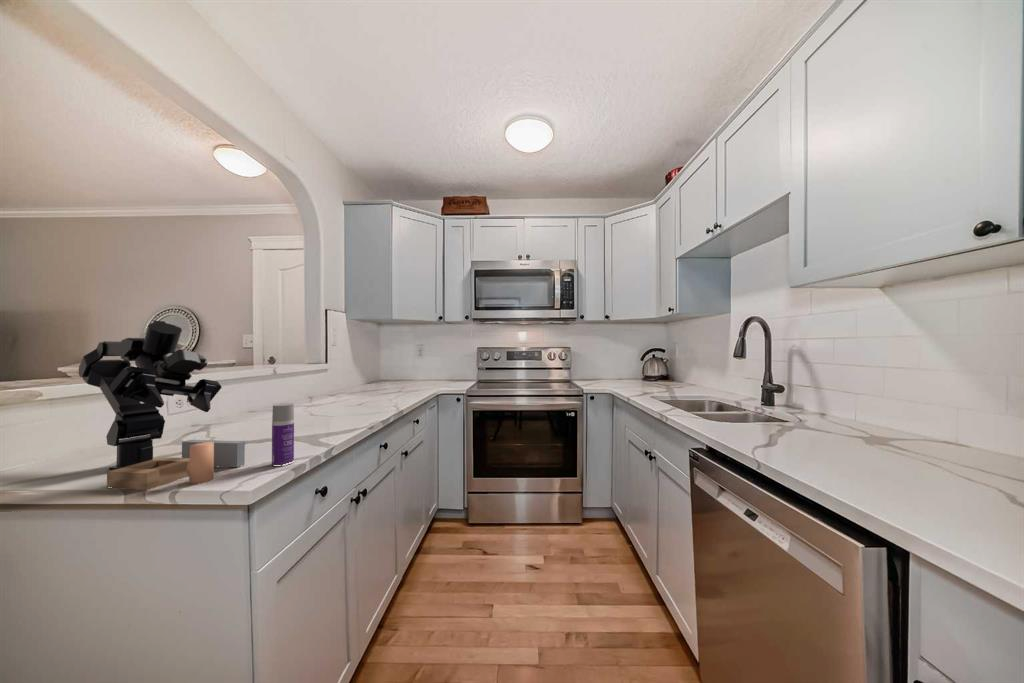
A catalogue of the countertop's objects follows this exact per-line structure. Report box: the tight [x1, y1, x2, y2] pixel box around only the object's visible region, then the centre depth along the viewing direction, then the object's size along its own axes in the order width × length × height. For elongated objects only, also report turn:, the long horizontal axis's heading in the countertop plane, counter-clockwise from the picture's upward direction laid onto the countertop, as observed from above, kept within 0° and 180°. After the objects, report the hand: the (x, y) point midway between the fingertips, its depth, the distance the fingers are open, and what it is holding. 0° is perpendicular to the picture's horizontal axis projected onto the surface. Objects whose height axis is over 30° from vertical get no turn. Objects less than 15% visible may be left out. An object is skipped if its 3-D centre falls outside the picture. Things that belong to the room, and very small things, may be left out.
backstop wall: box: [181, 439, 246, 468], centre depth 87 cm, size 16×2×6 cm, turn 82°
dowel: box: [188, 442, 215, 485], centre depth 77 cm, size 4×4×8 cm
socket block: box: [106, 456, 190, 491], centre depth 77 cm, size 10×10×4 cm
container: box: [271, 402, 295, 466], centre depth 88 cm, size 5×5×15 cm
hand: (186, 408), depth 77 cm, fingers open, 9 cm apart
